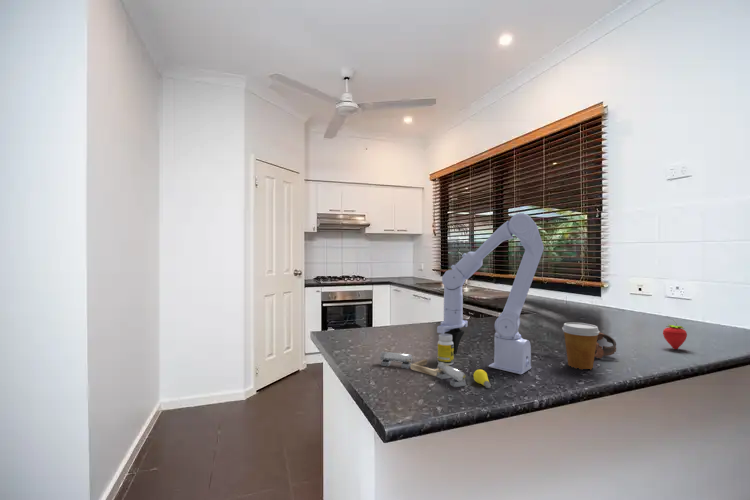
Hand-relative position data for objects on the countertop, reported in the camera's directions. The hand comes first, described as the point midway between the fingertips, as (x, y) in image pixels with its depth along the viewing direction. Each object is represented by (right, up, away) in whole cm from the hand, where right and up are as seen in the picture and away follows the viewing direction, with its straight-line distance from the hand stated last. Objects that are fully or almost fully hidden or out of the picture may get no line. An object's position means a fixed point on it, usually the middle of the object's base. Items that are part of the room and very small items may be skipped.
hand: (452, 353), depth 110 cm
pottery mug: (+48, -3, +7) cm, 49 cm away
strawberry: (+81, -3, +15) cm, 82 cm away
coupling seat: (-8, -2, -9) cm, 12 cm away
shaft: (-5, -2, -18) cm, 19 cm away
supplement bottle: (-3, -2, -3) cm, 5 cm away
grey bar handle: (-18, -2, -6) cm, 19 cm away
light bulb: (+3, -2, -20) cm, 21 cm away
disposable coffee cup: (+36, -3, -5) cm, 37 cm away
